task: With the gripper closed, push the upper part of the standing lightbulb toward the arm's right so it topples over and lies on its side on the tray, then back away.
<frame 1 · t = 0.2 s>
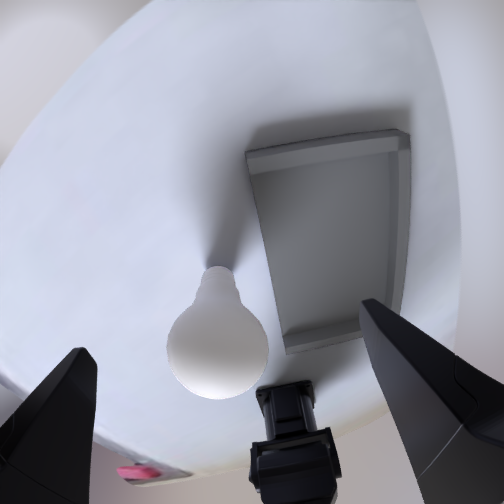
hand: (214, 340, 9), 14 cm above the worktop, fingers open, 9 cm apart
tray: (335, 249, 25), on the worktop
lightbulb: (218, 271, 26), on the worktop
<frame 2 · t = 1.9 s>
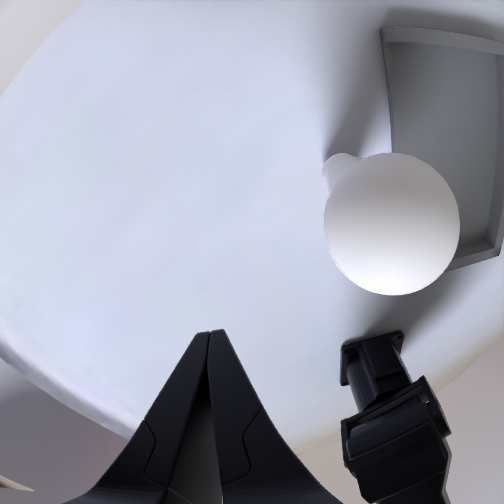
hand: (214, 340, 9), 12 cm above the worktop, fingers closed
tray: (453, 154, 19), on the worktop
lightbulb: (336, 167, 20), on the worktop
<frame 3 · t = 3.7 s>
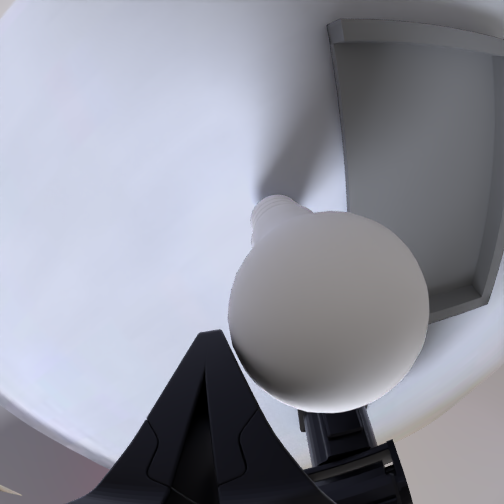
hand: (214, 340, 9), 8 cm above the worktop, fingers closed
tray: (433, 186, 16), on the worktop
lightbulb: (271, 211, 17), on the worktop, touching gripper
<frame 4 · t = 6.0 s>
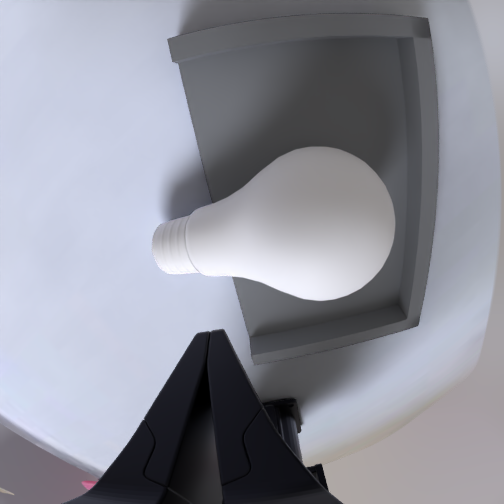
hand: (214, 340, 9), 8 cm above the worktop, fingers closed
tray: (325, 200, 16), on the worktop
lightbulb: (153, 251, 16), point 1 cm above the worktop, touching tray
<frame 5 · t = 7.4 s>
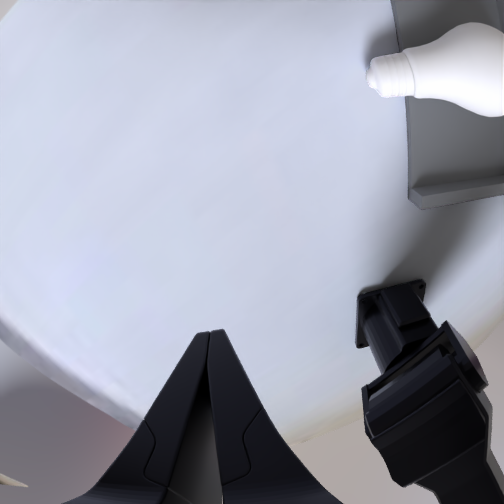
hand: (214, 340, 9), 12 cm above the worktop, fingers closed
tray: (464, 75, 16), on the worktop
lightbulb: (362, 79, 16), point 1 cm above the worktop, touching tray
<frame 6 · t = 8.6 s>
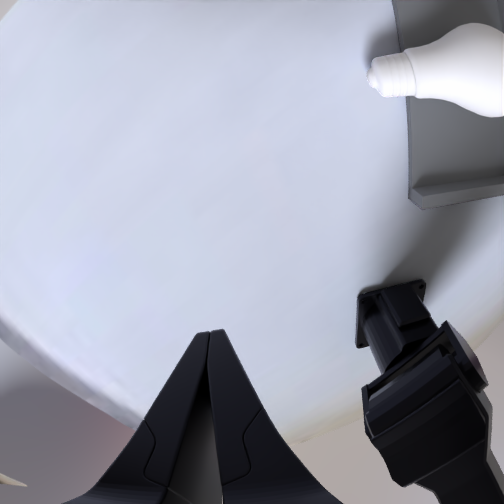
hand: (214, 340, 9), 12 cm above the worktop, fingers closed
tray: (464, 76, 16), on the worktop
lightbulb: (363, 79, 16), point 1 cm above the worktop, touching tray
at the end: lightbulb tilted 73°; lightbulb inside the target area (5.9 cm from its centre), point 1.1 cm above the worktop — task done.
